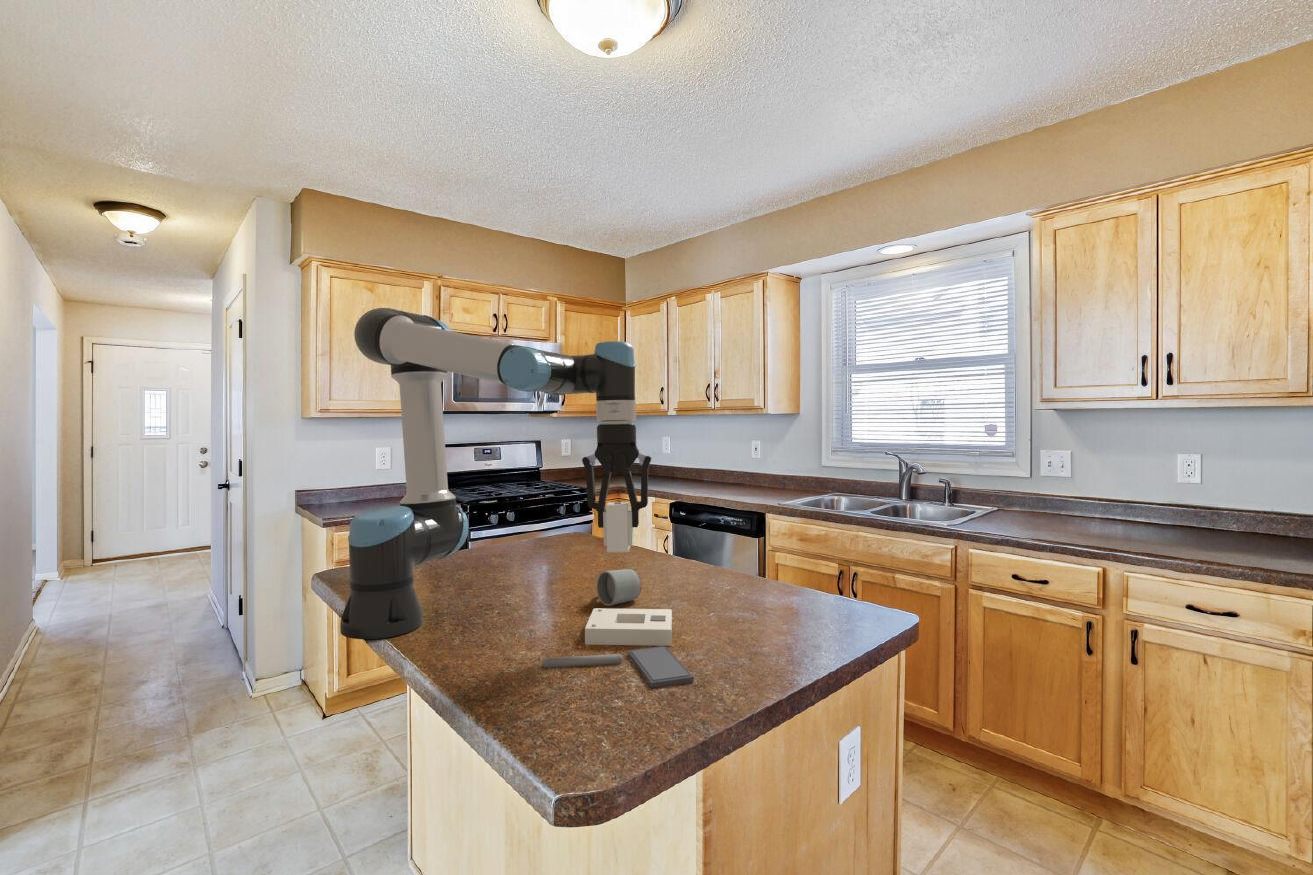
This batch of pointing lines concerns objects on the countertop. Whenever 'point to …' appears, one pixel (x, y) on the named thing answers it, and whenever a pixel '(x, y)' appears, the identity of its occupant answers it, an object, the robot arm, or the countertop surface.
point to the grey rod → (582, 660)
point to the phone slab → (660, 666)
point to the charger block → (617, 526)
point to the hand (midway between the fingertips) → (618, 544)
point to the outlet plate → (629, 627)
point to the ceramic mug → (618, 586)
